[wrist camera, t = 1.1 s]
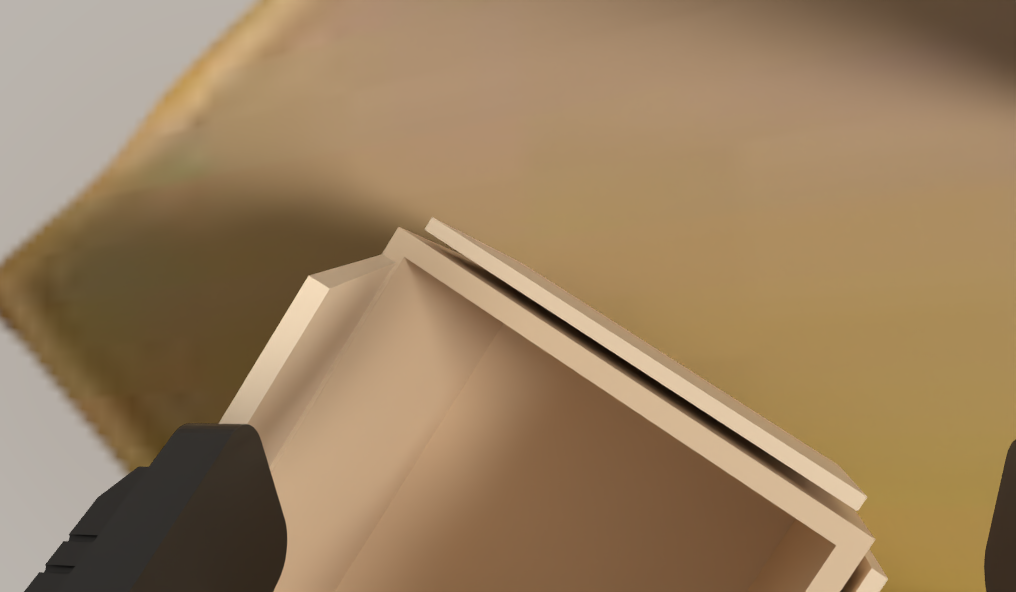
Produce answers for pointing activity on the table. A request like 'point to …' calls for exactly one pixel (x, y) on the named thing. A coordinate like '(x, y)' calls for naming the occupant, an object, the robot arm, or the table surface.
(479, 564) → the carton
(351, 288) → the front flap
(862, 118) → the table surface
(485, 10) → the table surface
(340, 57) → the table surface
